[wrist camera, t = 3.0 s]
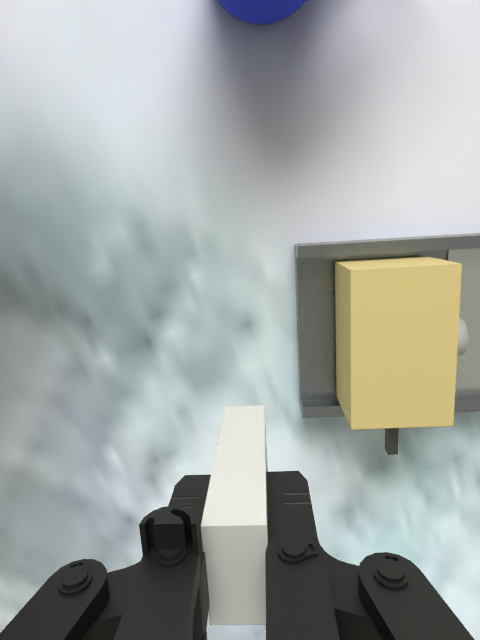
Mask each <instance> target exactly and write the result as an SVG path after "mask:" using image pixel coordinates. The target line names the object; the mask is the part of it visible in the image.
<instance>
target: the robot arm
mask: <svg viewBox="0 0 480 640" xmlns="http://www.w3.org/2000/svg"><path fill="white" fill-rule="evenodd" d="M139 528H140V536H141V543H142V551H143V557H142V560H141V561H140V562H138V563H136V564H135V565H132V566H129V567H127V568H124V569H120V570H116V571H113V572H109V573H107V570H106V568H105V566H104V565H103V564H102V563H101V562H99V561H96V560H94V559H82V560H78V561H74V562H71V563H69V564H67V565H65V566H63V567H61V568H60V569H59V570H57V571H56V572H55V573H54V574H53V575H52V576H51V577H50V578H49V579H48V580H47V581H46V582H45V583H44V585H43V586H42V587H41V588H40V589H39V590H38V591H37V592H36V594H35V595H34V596H33V597H32V598H31V599H30V600H29V601H28V603H27V604H26V605H25V606H24V607H23V608H22V609H21V610H20V612H19V613H18V614H17V615H16V616H15V617H14V618H13V620H12V621H11V622H10V623H9V624H8V625H7V626H6V627H5V629H4V630H3V631H2V632H1V633H0V640H207V632H206V626H207V619H208V611H209V622H210V625H266V640H474V639H473V637H472V636H471V635H470V633H469V632H468V631H467V630H466V628H465V627H464V626H463V624H462V623H461V622H460V621H459V619H458V618H457V617H456V615H455V614H454V613H453V612H452V610H451V609H450V608H449V606H448V605H447V604H446V603H445V601H444V600H443V599H442V597H441V596H440V595H439V594H438V592H437V591H436V590H435V588H434V587H433V586H432V585H431V583H430V582H429V581H428V579H427V578H426V577H425V576H424V574H423V573H422V572H421V571H420V569H419V568H418V567H417V566H415V565H414V564H413V563H412V562H411V561H410V560H408V559H406V558H404V557H402V556H400V555H397V554H392V553H388V552H384V553H374V554H372V555H369V556H367V557H365V558H364V560H363V561H362V562H361V563H360V566H357V565H353V564H349V563H345V562H342V561H339V560H337V559H335V558H333V557H332V556H330V555H329V554H328V553H326V552H325V551H324V550H323V548H322V547H321V546H320V544H319V541H318V537H317V532H316V526H315V521H314V515H313V510H312V504H311V499H310V494H309V487H308V482H307V480H306V479H305V478H304V476H303V475H302V474H301V473H300V472H299V471H281V472H268V467H267V447H266V428H265V409H264V405H263V406H236V407H224V411H223V416H222V421H221V427H220V432H219V437H218V442H217V447H216V452H215V457H214V462H213V467H212V472H211V475H185V476H184V477H183V478H182V479H181V480H180V481H179V482H178V483H177V484H176V485H175V488H174V491H173V494H172V498H171V500H170V503H169V506H168V507H162V508H159V509H157V510H154V511H152V512H151V513H149V514H148V515H147V516H145V517H144V518H143V520H142V521H141V523H140V524H139Z"/></svg>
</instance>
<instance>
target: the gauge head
mask: <svg viewBox="0 0 480 640" xmlns="http://www.w3.org/2000/svg"><path fill="white" fill-rule="evenodd" d="M461 272H462V264H460V263H456V262H451V261H446V260H442V259H437V258H433V257H428V256H424V257H406V258H389V259H371V260H354V261H336V262H335V309H336V392H337V399H338V401H339V403H340V405H341V408H342V410H343V412H344V414H345V417H346V419H347V421H348V423H349V426H350V428H351V430H353V429H381V428H385V449H386V451H387V453H388V455H393V454H398V428H408V427H436V426H453V424H454V405H455V386H456V367H457V355H463V354H464V353H465V352H466V350H467V347H468V330H467V326H466V324H465V322H464V320H463V319H462V318H461V317H459V310H460V291H461Z"/></svg>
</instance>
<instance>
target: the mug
mask: <svg viewBox="0 0 480 640" xmlns="http://www.w3.org/2000/svg"><path fill="white" fill-rule="evenodd" d="M218 1H219V2H220V4H221V5H222V6H223V7H224V8H225V9H226V10H227V11H228V12H229V13H231V14H232V15H233V16H235V17H237V18H238V19H240V20H243V21H245V22H248V23H253V24H270V23H274V22H278V21H280V20H283V19H284V18H286V17H288V16H290V15H291V14H293V13H294V12H295V11H296V10H297V9H299V7H300V6H301V5H302V4H303V3H304V2H305V1H306V0H218Z"/></svg>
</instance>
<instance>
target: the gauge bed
mask: <svg viewBox="0 0 480 640" xmlns="http://www.w3.org/2000/svg"><path fill="white" fill-rule="evenodd" d="M424 256H428V257H433V258H437V259H442V260H446V261H451V262H456V263H460V264H462V272H461V291H460V310H459V317H461V318H462V319H463V320H464V322H465V324H466V326H467V330H468V347H467V350H466V352H465V353H464V354H463V355H457V367H456V386H455V405H454V412H469V411H480V233H477V234H460V235H443V236H426V237H409V238H392V239H375V240H358V241H342V242H325V243H308V244H295V270H296V301H297V332H298V363H299V394H300V408H301V412H302V417H303V418H311V417H337V416H345V414H344V412H343V410H342V408H341V405H340V403H339V401H338V399H337V392H336V309H335V262H336V261H354V260H371V259H389V258H406V257H424Z"/></svg>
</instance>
